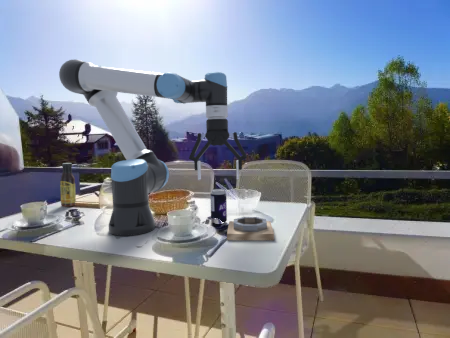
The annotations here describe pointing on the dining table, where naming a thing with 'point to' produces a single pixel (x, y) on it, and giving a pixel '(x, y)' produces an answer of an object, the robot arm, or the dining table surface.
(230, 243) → the dining table surface
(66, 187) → the sauce bottle
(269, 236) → the oak board
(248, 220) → the collar
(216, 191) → the beverage can
